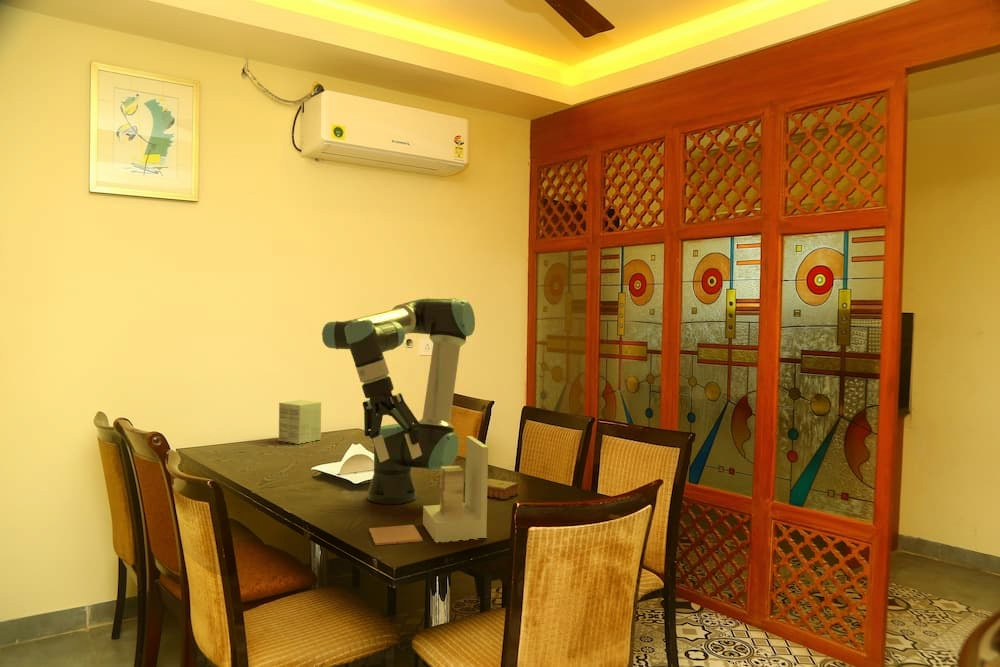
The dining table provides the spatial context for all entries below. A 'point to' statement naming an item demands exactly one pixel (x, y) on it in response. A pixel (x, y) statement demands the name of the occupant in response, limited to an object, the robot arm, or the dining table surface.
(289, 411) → the supplement box
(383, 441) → the robot arm
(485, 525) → the l-shaped bookend
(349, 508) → the dining table surface
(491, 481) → the carton
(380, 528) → the tile pad
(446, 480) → the maple block
